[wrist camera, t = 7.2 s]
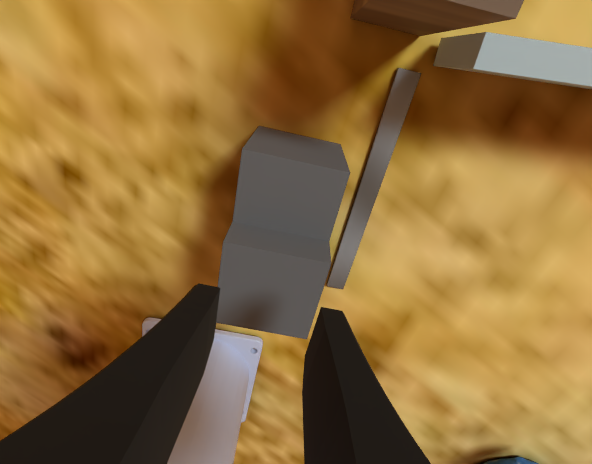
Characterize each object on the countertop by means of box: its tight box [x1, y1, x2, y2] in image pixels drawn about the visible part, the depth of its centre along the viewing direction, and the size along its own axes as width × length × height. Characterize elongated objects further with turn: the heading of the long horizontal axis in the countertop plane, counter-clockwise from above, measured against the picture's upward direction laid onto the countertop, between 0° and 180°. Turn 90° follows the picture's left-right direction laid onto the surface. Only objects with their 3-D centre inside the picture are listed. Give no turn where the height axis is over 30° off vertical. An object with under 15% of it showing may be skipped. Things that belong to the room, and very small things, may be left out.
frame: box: [327, 0, 524, 289], centre depth 12 cm, size 21×4×7 cm, turn 168°
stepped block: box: [216, 126, 350, 339], centre depth 15 cm, size 7×4×6 cm, turn 168°
